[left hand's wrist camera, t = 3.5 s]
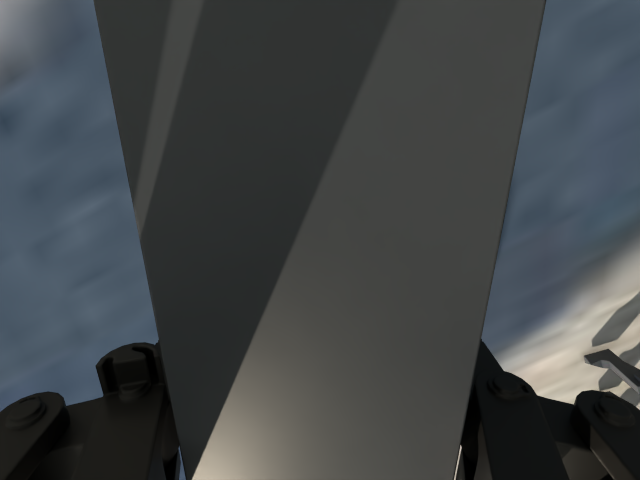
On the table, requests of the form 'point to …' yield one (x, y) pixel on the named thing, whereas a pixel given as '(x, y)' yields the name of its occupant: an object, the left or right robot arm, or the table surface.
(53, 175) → the table surface
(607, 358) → the toy
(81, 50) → the table surface
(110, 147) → the table surface
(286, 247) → the bar
